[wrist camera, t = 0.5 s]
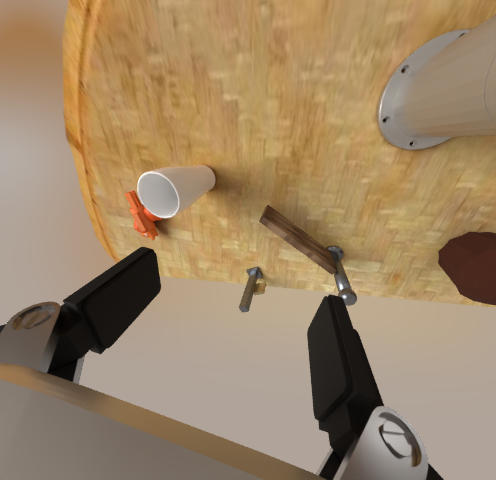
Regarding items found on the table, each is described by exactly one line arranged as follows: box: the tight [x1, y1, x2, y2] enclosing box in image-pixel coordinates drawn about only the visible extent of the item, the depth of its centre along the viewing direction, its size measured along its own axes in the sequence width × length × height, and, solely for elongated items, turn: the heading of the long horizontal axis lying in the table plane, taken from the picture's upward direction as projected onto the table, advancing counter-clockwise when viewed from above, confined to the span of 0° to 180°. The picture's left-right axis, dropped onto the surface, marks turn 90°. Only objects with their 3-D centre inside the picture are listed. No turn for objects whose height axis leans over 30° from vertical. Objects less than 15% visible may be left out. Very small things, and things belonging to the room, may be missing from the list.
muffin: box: [438, 232, 496, 305], centre depth 29 cm, size 12×11×10 cm
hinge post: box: [327, 246, 357, 306], centre depth 33 cm, size 4×4×14 cm
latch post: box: [239, 267, 266, 312], centre depth 41 cm, size 5×3×12 cm
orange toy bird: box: [125, 191, 162, 240], centre depth 43 cm, size 5×8×12 cm
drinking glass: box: [137, 165, 215, 218], centre depth 31 cm, size 7×7×15 cm
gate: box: [259, 205, 337, 274], centre depth 34 cm, size 16×1×6 cm, turn 55°
